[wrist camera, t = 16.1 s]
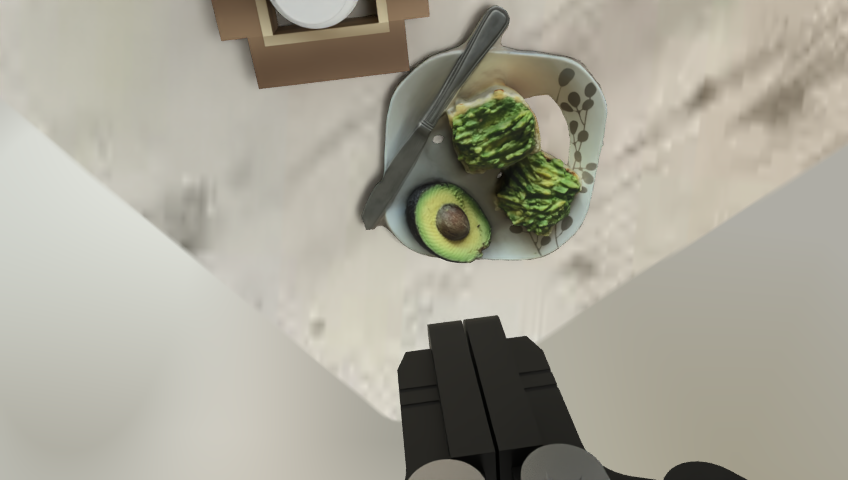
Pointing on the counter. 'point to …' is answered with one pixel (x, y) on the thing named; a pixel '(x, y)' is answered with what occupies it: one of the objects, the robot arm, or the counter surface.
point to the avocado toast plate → (487, 152)
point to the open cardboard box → (319, 42)
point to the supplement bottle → (314, 11)
